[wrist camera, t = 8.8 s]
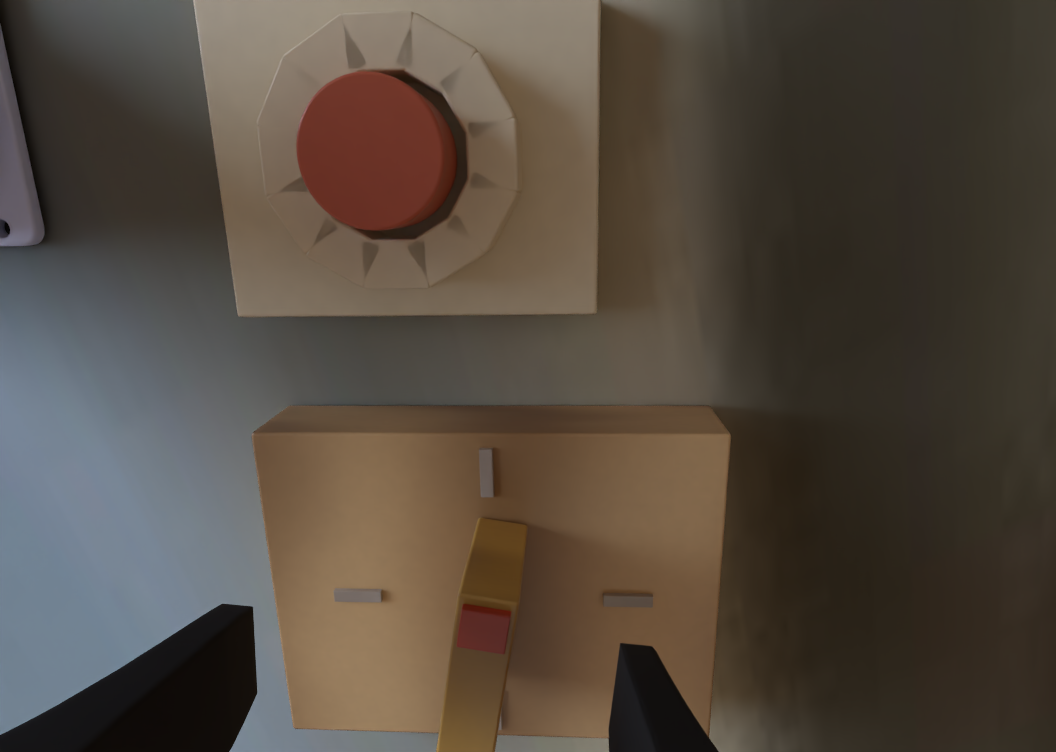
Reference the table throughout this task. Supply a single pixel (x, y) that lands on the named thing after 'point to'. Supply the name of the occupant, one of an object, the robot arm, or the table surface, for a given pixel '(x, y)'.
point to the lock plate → (444, 543)
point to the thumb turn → (482, 637)
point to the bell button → (375, 152)
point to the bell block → (481, 143)
